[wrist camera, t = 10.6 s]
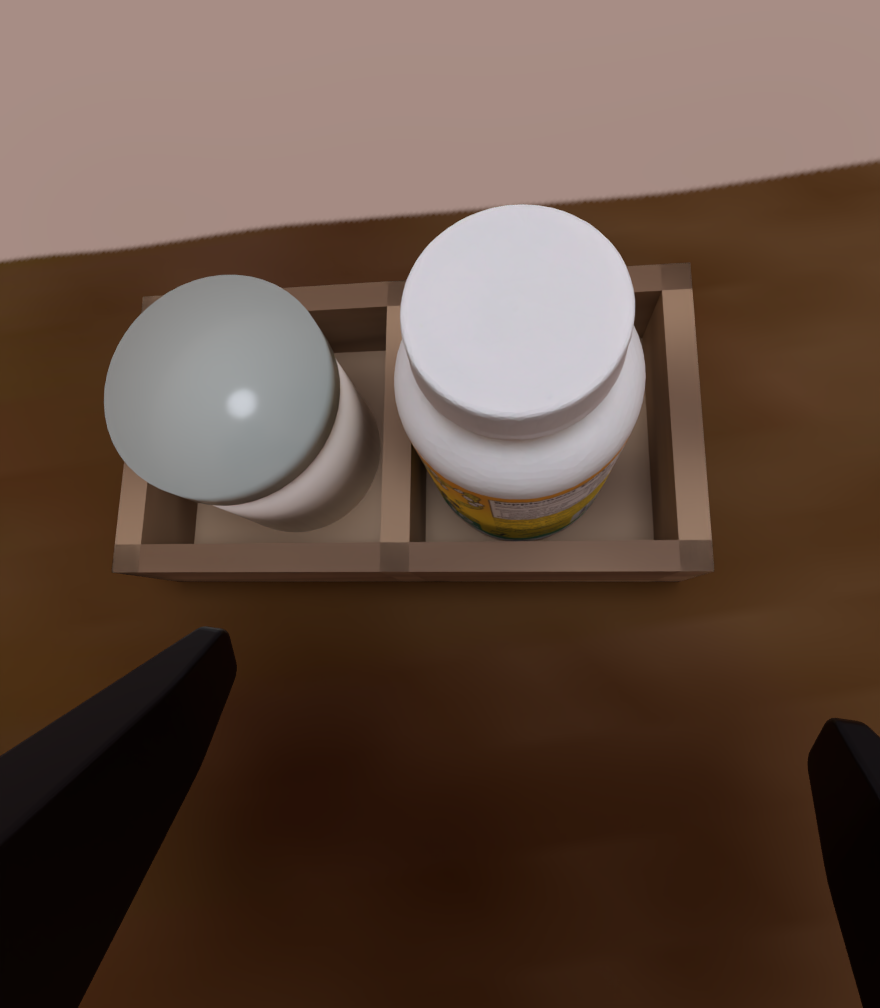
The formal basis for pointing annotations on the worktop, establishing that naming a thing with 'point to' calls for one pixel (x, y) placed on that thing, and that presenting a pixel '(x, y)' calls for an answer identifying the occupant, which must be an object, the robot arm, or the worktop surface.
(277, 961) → the worktop surface
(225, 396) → the jar
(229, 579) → the crate
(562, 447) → the supplement bottle
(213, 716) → the robot arm
